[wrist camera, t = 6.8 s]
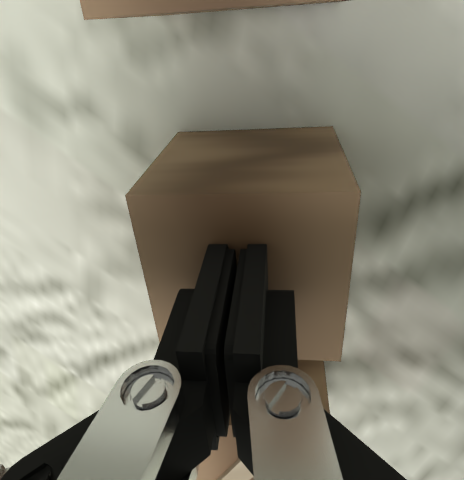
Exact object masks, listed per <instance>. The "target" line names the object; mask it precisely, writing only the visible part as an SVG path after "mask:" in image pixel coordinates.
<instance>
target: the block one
mask: <svg viewBox="0 0 464 480" xmlns="http://www.w3.org/2000/svg"><path fill="white" fill-rule="evenodd" d="M341 1H349V0H80V3H81V8H82V12H83V16H84V20H88V19H107V18H125V17H143V16H161V15H174V14H187V13H200V12H213V11H225V10H238V9H251V8H264V7H277V6H290V5H302V4H315V3H328V2H341Z"/></svg>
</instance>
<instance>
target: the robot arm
mask: <svg viewBox="0 0 464 480" xmlns="http://www.w3.org/2000/svg"><path fill="white" fill-rule="evenodd" d="M230 415H231V424H232V432H233V437H236V445H237V454H238V458H239V459H240V460H241V462H242V463H243V464H244V465H245V466H246V468H247V469H248V470H249V471H250V472H251V474H252V475H253V477H254V480H406V479H405V478H404V477H403V476H402V475H400V474H399V473H398V472H397V471H396V470H395V469H393V468H392V467H391V466H390V465H389V464H388V463H386V462H385V461H384V460H383V459H382V458H381V457H379V456H378V455H377V454H376V453H375V452H374V451H372V450H371V449H370V448H369V447H368V446H367V445H365V444H364V443H363V442H362V441H361V440H360V439H358V438H357V437H356V436H355V435H354V434H353V433H351V432H350V431H349V430H348V429H347V428H346V427H344V426H343V425H342V424H341V423H340V422H339V421H337V420H336V419H335V418H334V417H333V416H331V415H330V414H329V413H328V412H327V411H326V410H324V409H323V405H322V401H321V398H320V394H319V391H318V388H317V386H316V384H315V382H314V381H313V380H312V379H311V377H310V376H309V375H308V374H307V373H305V372H303V371H302V370H300V369H298V358H297V338H296V317H295V296H294V290H268V259H267V244H248V246H247V249H240V254H239V260H238V266H237V264H236V252H235V249H229V247H228V244H209V245H208V246H207V250H206V253H205V256H204V260H203V263H202V266H201V269H200V273H199V276H198V279H197V282H196V286H195V289H180V290H179V292H178V294H177V297H176V299H175V302H174V305H173V308H172V310H171V313H170V316H169V319H168V322H167V324H166V327H165V330H164V333H163V335H162V338H161V341H160V344H159V347H158V349H157V352H156V355H155V358H154V360H149V361H144V362H141V363H138V364H136V365H134V366H132V367H131V368H129V369H128V370H127V371H125V372H124V373H123V374H122V376H121V377H120V378H119V379H118V381H117V382H116V384H115V385H114V387H113V389H112V390H111V392H110V393H109V395H108V397H107V398H106V400H105V402H104V403H103V405H102V407H101V408H100V410H98V411H97V412H95V413H94V414H92V415H90V416H89V417H87V418H86V419H84V420H82V421H81V422H79V423H78V424H76V425H74V426H73V427H71V428H70V429H68V430H66V431H65V432H63V433H62V434H60V435H58V436H57V437H55V438H54V439H52V440H50V441H49V442H47V443H46V444H44V445H43V446H41V447H39V448H38V449H36V450H35V451H33V452H31V453H30V454H28V455H27V456H25V457H23V458H22V459H21V460H19V461H18V462H17V463H15V464H14V465H13V466H12V467H11V468H6V469H5V467H4V466H3V465H2V464H0V480H196V479H197V476H198V470H199V464H200V463H201V462H203V461H204V460H205V459H206V458H208V457H209V456H210V454H211V450H218V445H219V438H220V437H227V434H228V428H229V420H230Z"/></svg>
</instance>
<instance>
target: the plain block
mask: <svg viewBox="0 0 464 480" xmlns="http://www.w3.org/2000/svg"><path fill="white" fill-rule="evenodd" d="M360 196H361V191H360V189H359V186H358V184H357V182H356V179H355V177H354V175H353V172H352V170H351V168H350V165H349V163H348V161H347V158H346V156H345V154H344V151H343V149H342V147H341V145H340V142H339V140H338V138H337V135H336V133H335V131H334V128H333V126H329V127H302V128H276V129H250V130H223V131H197V132H178V133H177V134H176V135H175V137H174V138H173V139H172V140H171V141H170V143H169V144H168V145H167V146H166V147H165V149H164V150H163V151H162V152H161V153H160V155H159V156H158V157H157V158H156V159H155V161H154V162H153V163H152V164H151V165H150V167H149V168H148V169H147V170H146V171H145V173H144V174H143V175H142V176H141V177H140V178H139V180H138V181H137V182H136V183H135V184H134V186H133V187H132V188H131V189H130V190H129V192H128V193H127V194H126V195H125V197H126V201H127V205H128V209H129V214H130V218H131V222H132V227H133V231H134V235H135V239H136V244H137V248H138V252H139V256H140V261H141V265H142V269H143V273H144V278H145V282H146V286H147V290H148V295H149V299H150V303H151V308H152V312H153V316H154V320H155V325H156V329H157V333H158V337H159V342H160V341H161V338H162V335H163V333H164V330H165V327H166V324H167V322H168V319H169V316H170V313H171V310H172V308H173V305H174V302H175V299H176V297H177V294H178V292H179V290H180V289H195V286H196V282H197V279H198V276H199V273H200V269H201V266H202V263H203V260H204V256H205V253H206V250H207V246H208V245H209V244H228V247H229V249H235V252H236V264H237V266H238V260H239V254H240V249H247V246H248V244H267V259H268V290H294V296H295V317H296V338H297V358H298V360H319V361H341V355H342V346H343V338H344V330H345V321H346V313H347V304H348V296H349V288H350V279H351V271H352V263H353V254H354V246H355V237H356V229H357V221H358V212H359V204H360Z"/></svg>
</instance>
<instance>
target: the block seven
mask: <svg viewBox="0 0 464 480" xmlns="http://www.w3.org/2000/svg"><path fill="white" fill-rule="evenodd" d="M298 369H300V370H302V371H303V372H305V373H307V374H308V375H309V376H310V377H311V379H312V380H313V381H314V382H315V384H316V386H317V388H318V391H319V394H320V398H321V401H322V405H323V409H324V410H326V411H327V412H328V413H329V414H330V410H329V402H328V394H327V385H326V377H325V368H324V361H319V360H298ZM196 480H254V477H253V475H252V474H251V472H250V471H249V470H248V469H247V468H246V466H245V465H244V464H243V463H242V462H241V460H240V459H239V458H238V454H237V445H236V437H233V432H232V424H231V415H230V420H229V428H228V434H227V437H220V438H219V445H218V450H211V454H210V456H209V457H208V458H206V459H205V460H204V461H203V462H201V463H200V464H199V470H198V476H197V479H196Z"/></svg>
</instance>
